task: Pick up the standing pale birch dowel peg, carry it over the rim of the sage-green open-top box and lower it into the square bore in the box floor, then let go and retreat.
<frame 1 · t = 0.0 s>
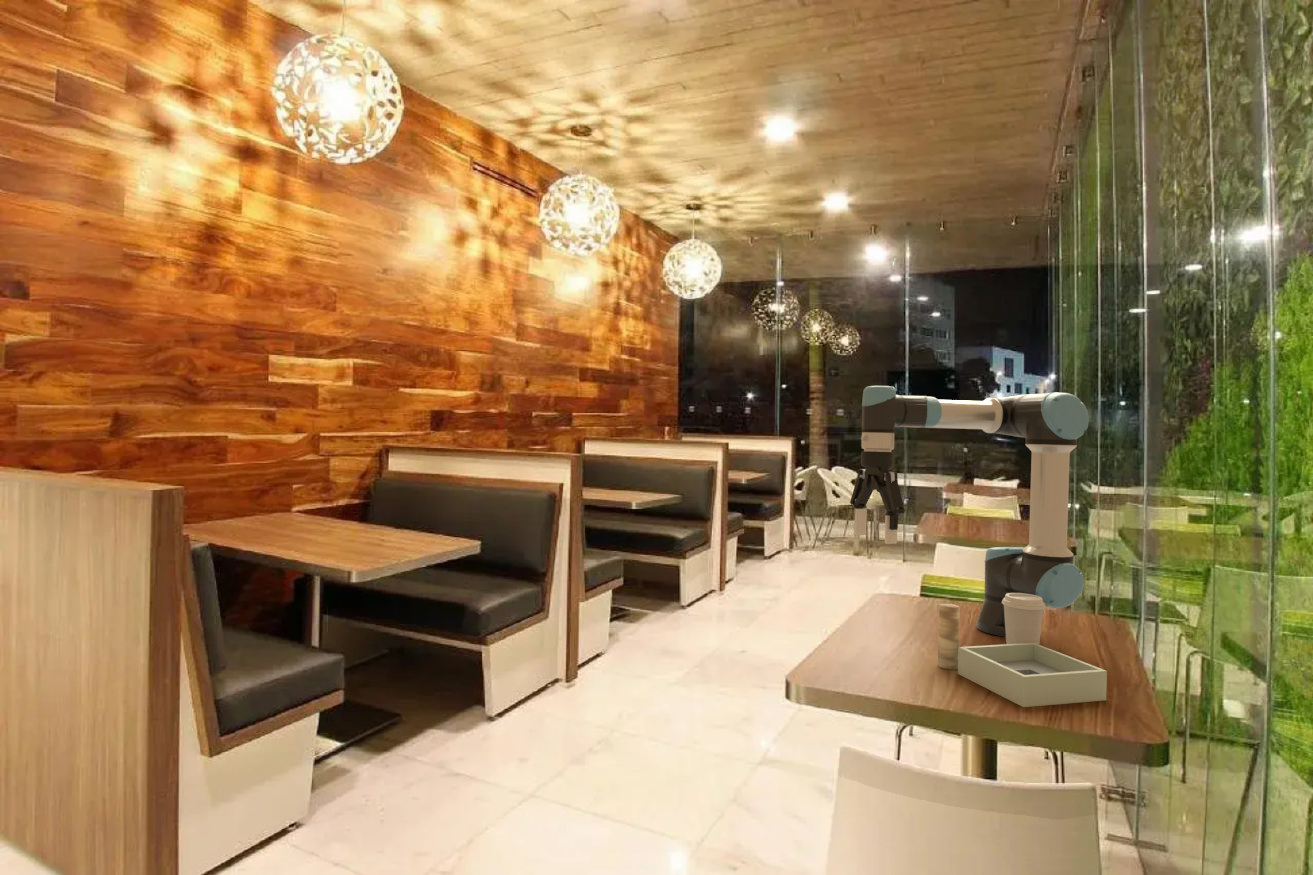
hand: (875, 539, 176), 28 cm above the table, fingers open, 13 cm apart
bore box: (1028, 686, 157), on the table
peg: (947, 666, 169), on the table
coffee cup: (1022, 659, 176), on the table
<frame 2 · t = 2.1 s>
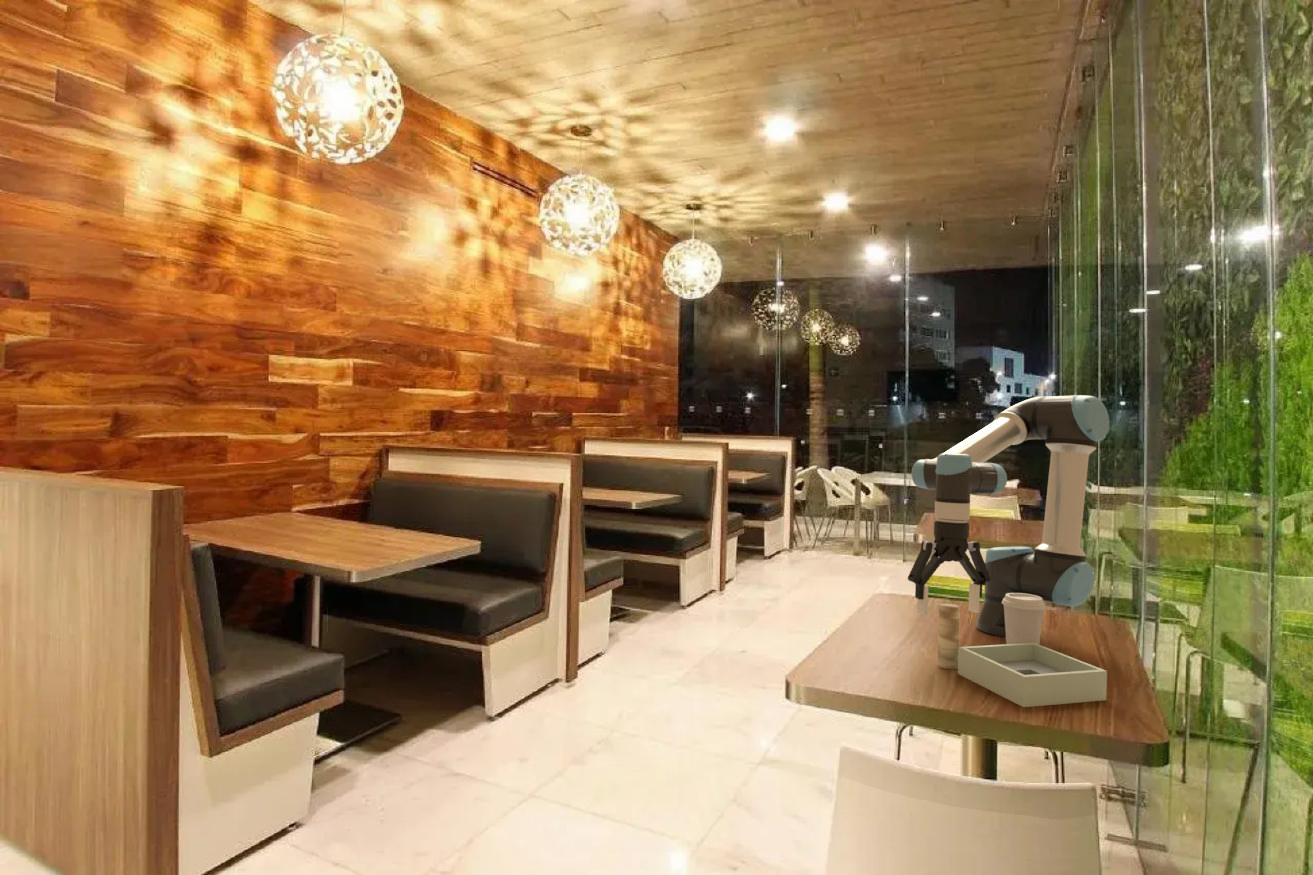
hand: (948, 612, 169), 12 cm above the table, fingers open, 13 cm apart
nothing on the table moved.
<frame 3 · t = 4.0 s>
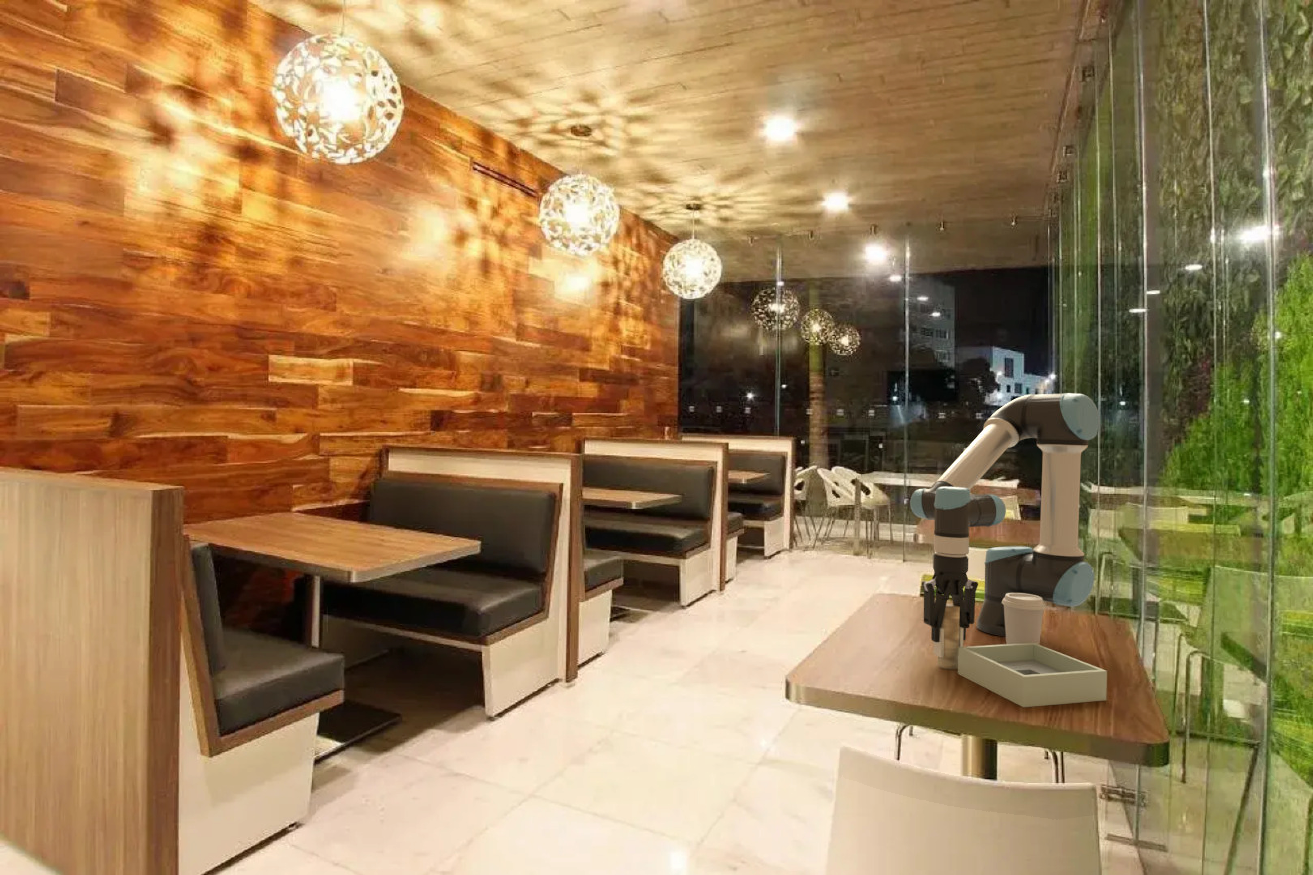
hand: (948, 654, 169), 3 cm above the table, fingers closed on peg, 4 cm apart
peg: (947, 666, 169), on the table, touching gripper
everything else where it was.
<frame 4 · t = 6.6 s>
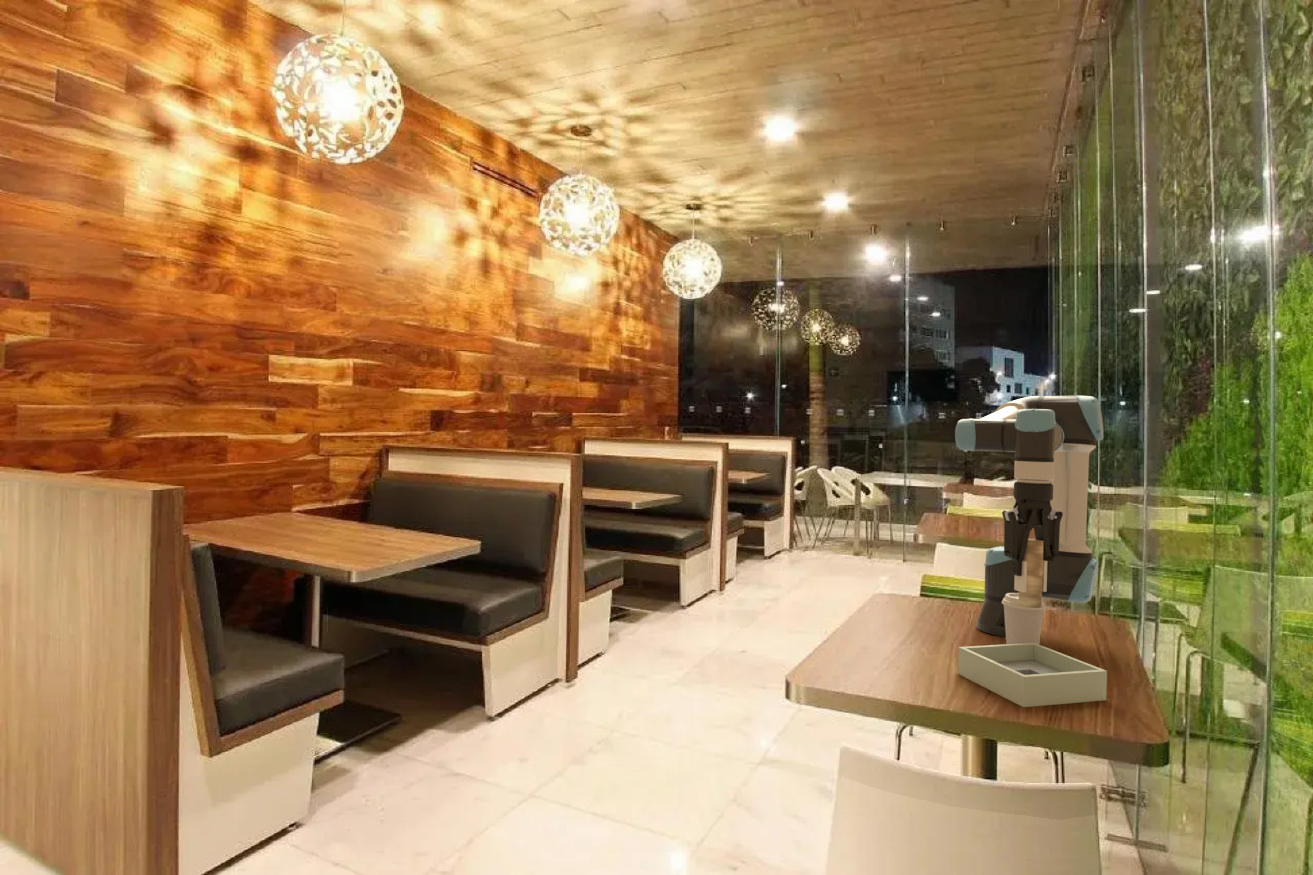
hand: (1030, 590, 156), 21 cm above the table, fingers closed on peg, 4 cm apart
peg: (1029, 605, 156), point 17 cm above the table, touching gripper
everything else where it was.
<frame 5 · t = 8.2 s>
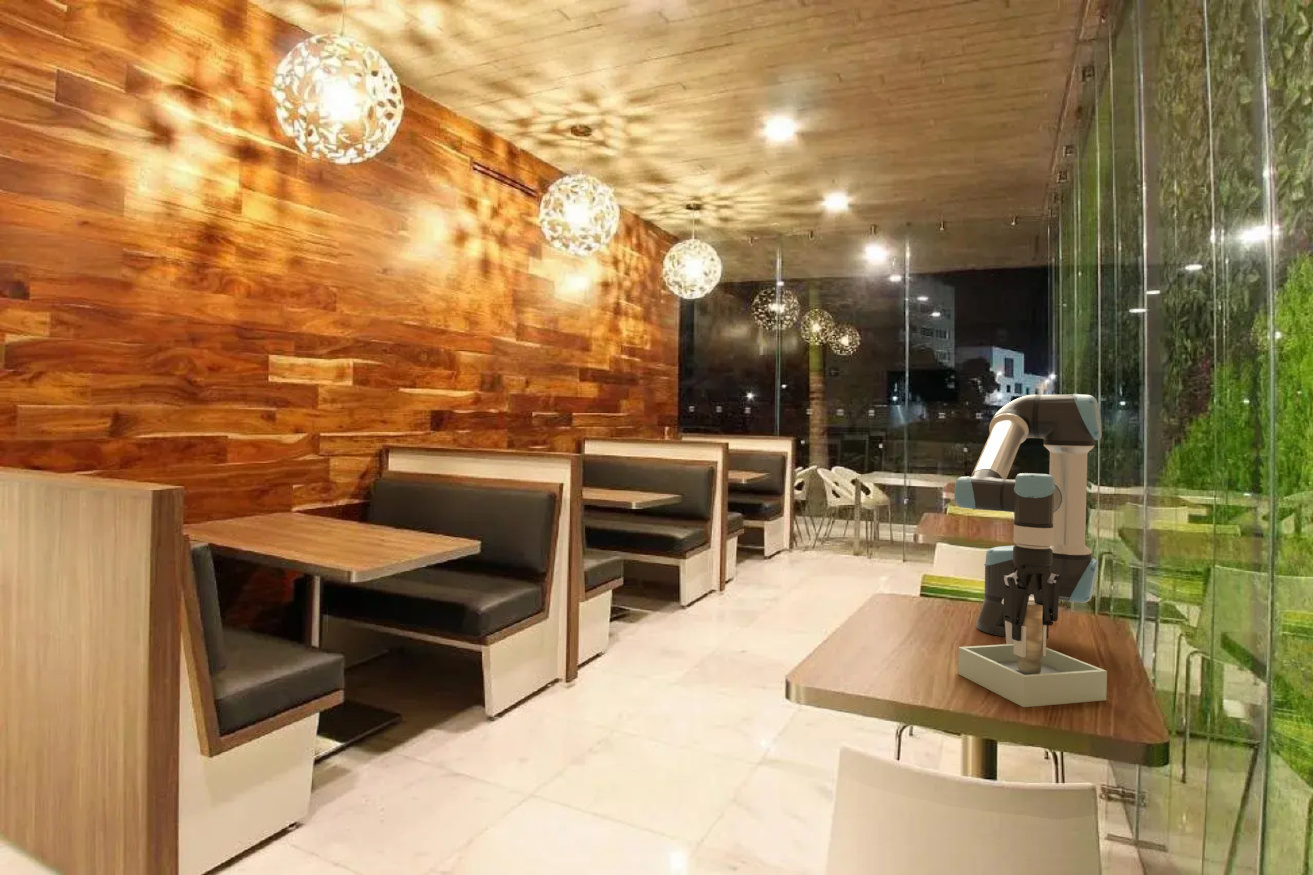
hand: (1029, 654, 156), 7 cm above the table, fingers closed on peg, 4 cm apart
peg: (1029, 669, 156), point 4 cm above the table, touching gripper
everything else where it was.
when the fingers open (4 cm above the table, at t = 9.1 s): peg stays where it is, resting in bore box.
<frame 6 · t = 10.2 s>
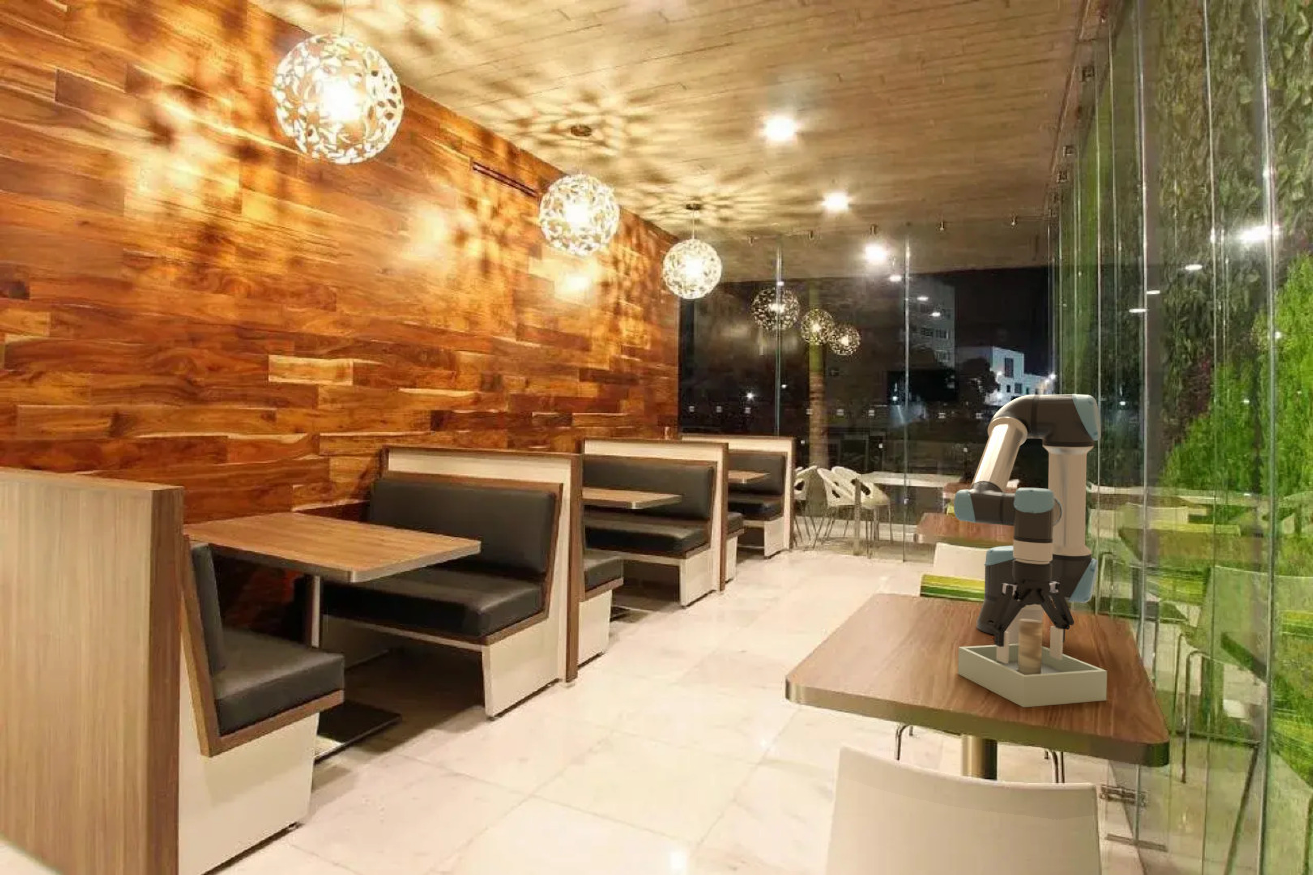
hand: (1029, 659, 157), 6 cm above the table, fingers open, 13 cm apart
peg: (1028, 686, 156), resting in bore box
everything else where it was.
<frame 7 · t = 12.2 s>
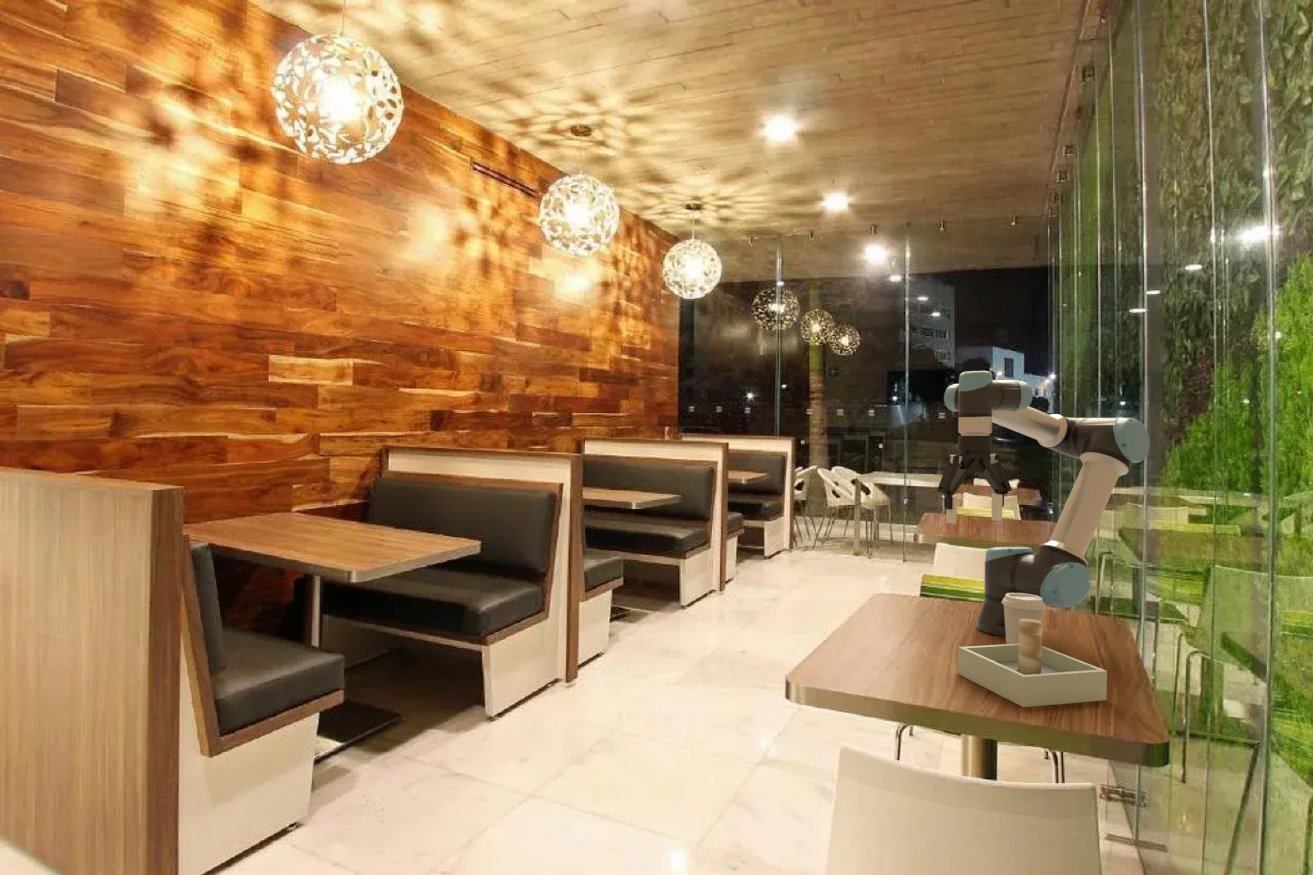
hand: (974, 521, 179), 32 cm above the table, fingers open, 13 cm apart
nothing on the table moved.
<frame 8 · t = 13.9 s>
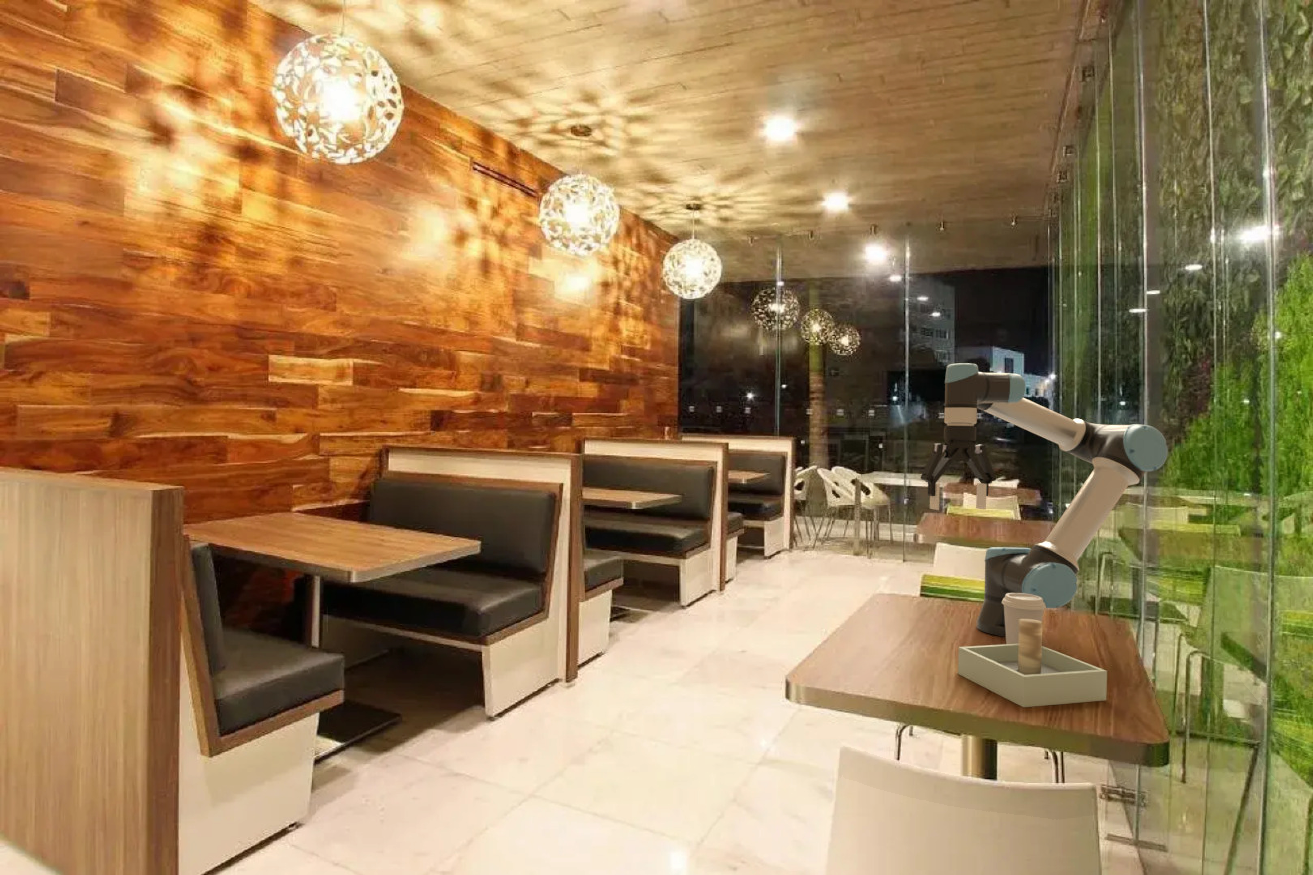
hand: (957, 509, 185), 35 cm above the table, fingers open, 13 cm apart
nothing on the table moved.
at the end: peg 0.1 cm off-centre on the bore box, point 0.0 cm above the bore box's base; peg tilted 0°; the gripper is holding nothing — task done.
